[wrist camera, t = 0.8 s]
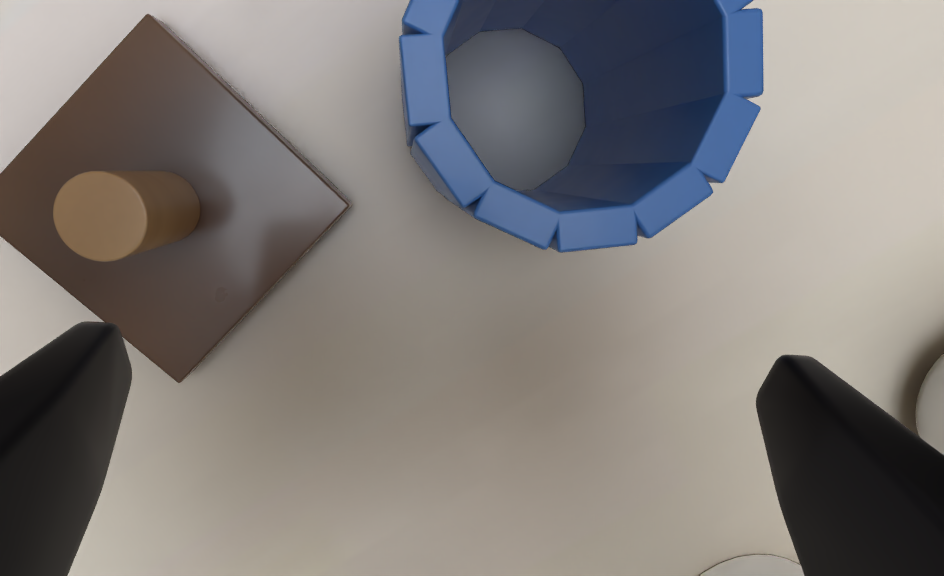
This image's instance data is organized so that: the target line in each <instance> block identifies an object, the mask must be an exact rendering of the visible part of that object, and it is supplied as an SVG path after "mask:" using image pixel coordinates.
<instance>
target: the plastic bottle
mask: <svg viewBox="0 0 944 576" xmlns="http://www.w3.org/2000/svg"><path fill="white" fill-rule="evenodd" d="M915 414H916V426H917V429H918V433H919V436H920V438H921V439H923V440H924V441H925V442H927V443H928V444H929V445H931V446H932V447H933V448H935V449H936V450H938V451H939V452H940V453H942V454H943V455H944V354H943V355H942V356H941V357H940V358H939V359H938V360H937V361H936V362H935V363H934V365H933V366H932V367H931V369H930V370H929V372H928V373H927V375H926V377H925V379H924V381H923V383H922V385H921V388H920V391H919V394H918V398H917V404H916V412H915Z"/></svg>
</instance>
